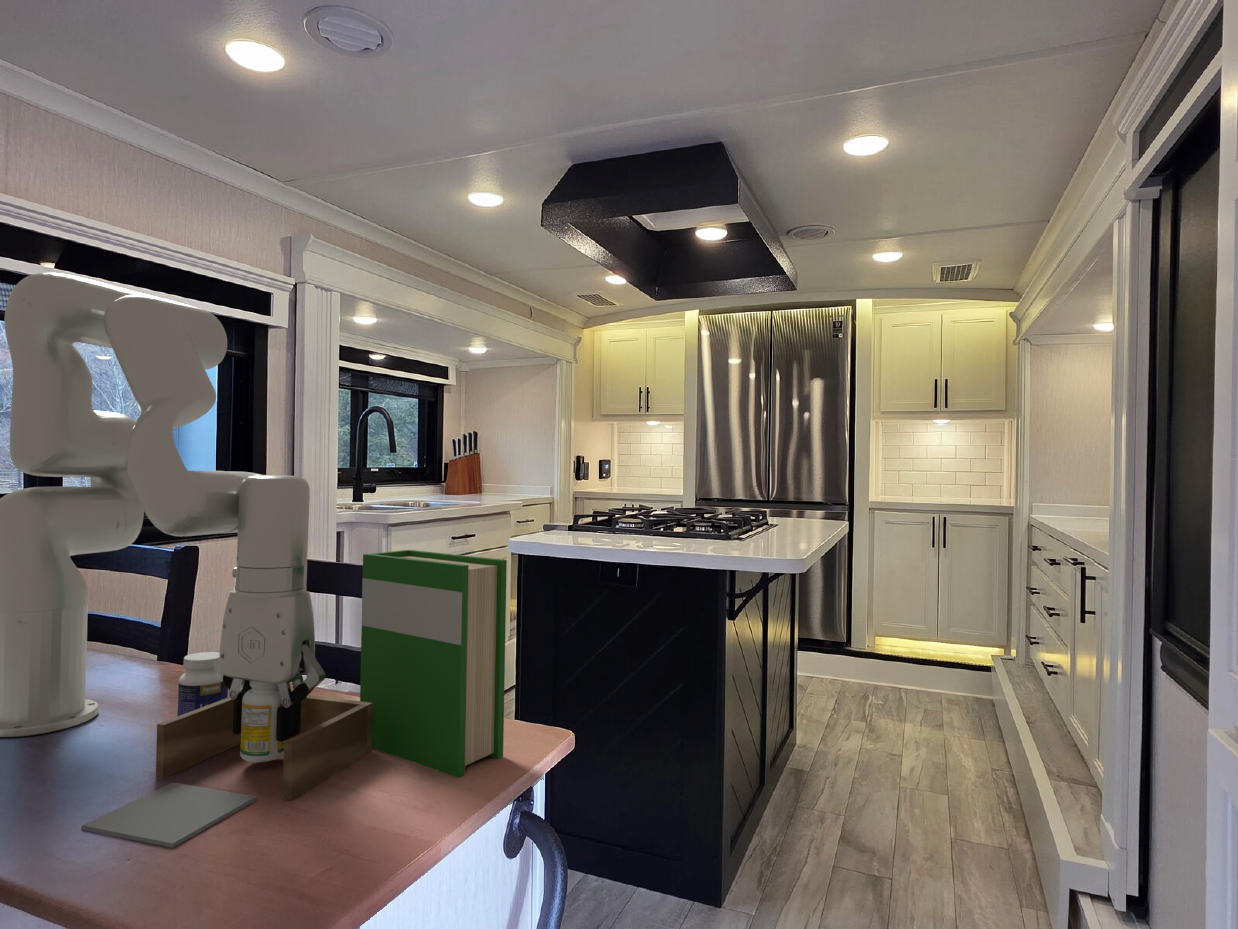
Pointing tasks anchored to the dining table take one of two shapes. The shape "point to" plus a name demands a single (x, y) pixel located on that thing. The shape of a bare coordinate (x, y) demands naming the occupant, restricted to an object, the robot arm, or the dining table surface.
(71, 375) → the robot arm
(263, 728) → the supplement bottle
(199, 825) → the grey mat
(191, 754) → the wooden u-shaped frame
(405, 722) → the hardback book
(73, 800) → the dining table surface
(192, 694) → the pill bottle
